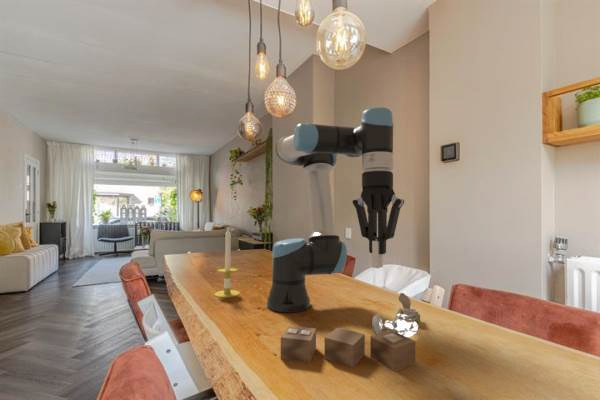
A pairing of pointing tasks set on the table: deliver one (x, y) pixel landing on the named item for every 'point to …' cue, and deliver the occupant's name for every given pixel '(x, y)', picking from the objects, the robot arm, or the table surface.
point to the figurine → (396, 324)
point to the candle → (227, 271)
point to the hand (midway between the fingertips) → (377, 267)
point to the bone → (407, 308)
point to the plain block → (344, 347)
